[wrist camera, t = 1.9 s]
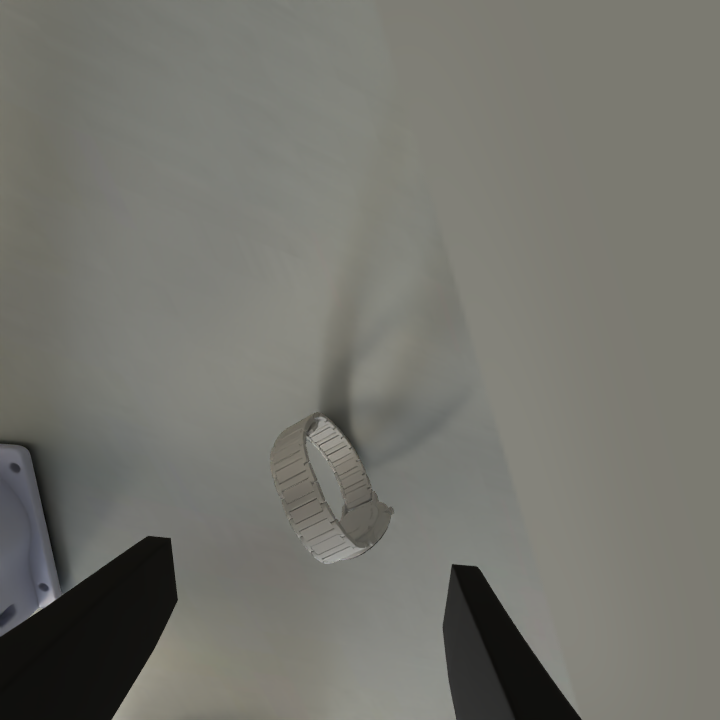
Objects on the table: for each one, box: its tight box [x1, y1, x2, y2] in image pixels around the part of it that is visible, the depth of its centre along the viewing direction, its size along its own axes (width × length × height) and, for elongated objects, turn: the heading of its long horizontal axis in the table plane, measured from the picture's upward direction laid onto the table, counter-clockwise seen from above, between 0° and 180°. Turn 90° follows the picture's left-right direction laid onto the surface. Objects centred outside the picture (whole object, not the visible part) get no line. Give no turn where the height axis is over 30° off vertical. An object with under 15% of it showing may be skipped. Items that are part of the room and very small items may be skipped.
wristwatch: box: [270, 412, 394, 564], centre depth 13 cm, size 3×5×5 cm, turn 31°
